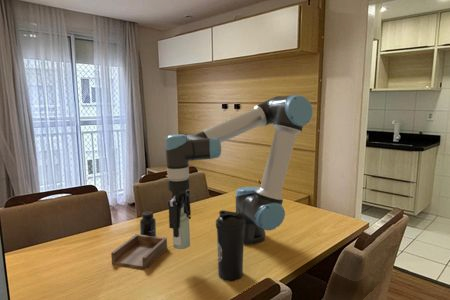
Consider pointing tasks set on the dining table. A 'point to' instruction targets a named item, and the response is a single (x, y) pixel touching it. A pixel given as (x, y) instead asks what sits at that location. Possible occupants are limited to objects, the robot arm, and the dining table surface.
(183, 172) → the robot arm
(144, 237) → the u rest
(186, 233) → the bottle
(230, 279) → the water bottle
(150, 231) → the supplement bottle
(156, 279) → the dining table surface
